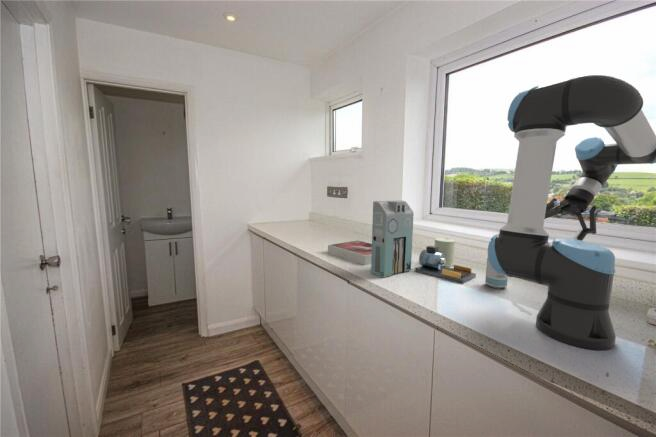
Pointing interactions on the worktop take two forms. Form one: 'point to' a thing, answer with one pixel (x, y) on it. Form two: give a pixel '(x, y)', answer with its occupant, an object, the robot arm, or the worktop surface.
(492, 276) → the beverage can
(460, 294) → the worktop surface
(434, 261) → the motor
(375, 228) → the device
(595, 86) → the robot arm
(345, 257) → the product packaging
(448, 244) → the can
